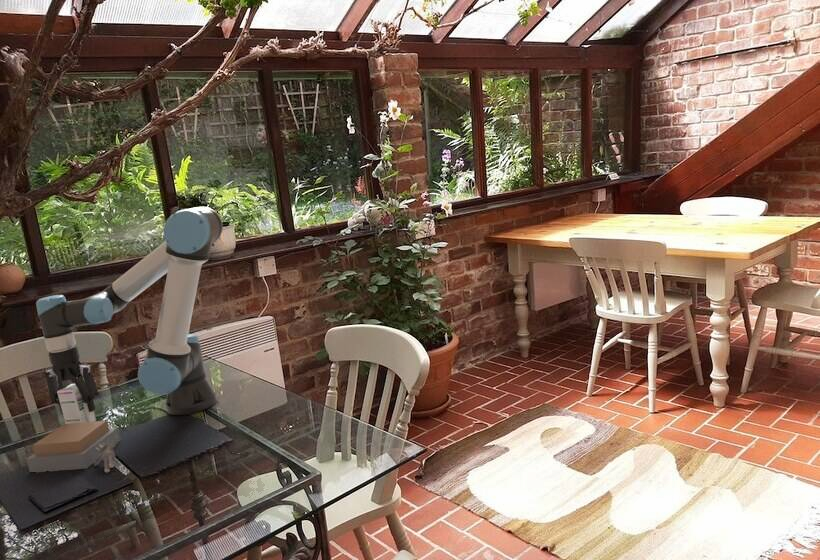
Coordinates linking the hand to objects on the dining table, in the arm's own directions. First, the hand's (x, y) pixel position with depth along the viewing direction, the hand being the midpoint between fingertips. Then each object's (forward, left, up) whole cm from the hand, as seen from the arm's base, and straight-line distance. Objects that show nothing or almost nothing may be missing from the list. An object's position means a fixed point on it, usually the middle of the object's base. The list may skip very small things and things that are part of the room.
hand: (81, 422), depth 185 cm
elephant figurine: (-22, +22, -4) cm, 32 cm away
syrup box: (0, 0, -3) cm, 3 cm away
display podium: (-8, +15, -4) cm, 17 cm away
